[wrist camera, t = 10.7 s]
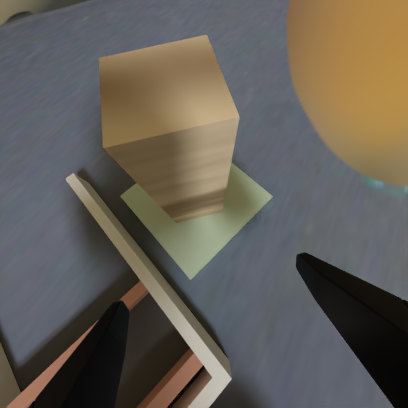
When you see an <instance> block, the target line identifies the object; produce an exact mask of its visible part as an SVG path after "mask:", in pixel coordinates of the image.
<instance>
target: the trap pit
mask: <svg viewBox="0 0 408 408" xmlns="http://www.w3.org/2000/svg"><path fill="white" fill-rule="evenodd" d="M120 300H122V301H123V302H124V303H125V305H126V306H127V308H128V309H129V313H130V316H129V326H128V336H127V345H126V353H125V358H124V363H123V369H122V374H121V379H120V384H119V389H118V395H117V400H116V405H115V408H167V407H168V405H169V404H170V403H171V402H172V401H173V400H174V398H175V397H176V396H177V395H178V394H179V393H180V391H181V390H182V389H183V388H184V387H185V386H186V384H187V383H188V382H189V381H190V380H191V379H192V377H193V376H194V375H195V374H196V373H197V372H198V370H199V369H200V368H201V367H202V366H203V364H202V363H201V361H200V360H199V359H198V357H197V356H196V355H195V353H194V352H193V351H192V349H191V348H190V347H189V345H188V344H187V343H186V341H185V340H184V338H183V337H182V336H181V334H180V333H179V332H178V330H177V329H176V328H175V326H174V325H173V324H172V322H171V321H170V320H169V318H168V317H167V316H166V314H165V313H164V311H163V310H162V309H161V307H160V306H159V305H158V303H157V302H156V301H155V299H154V298H153V297H152V295H151V294H150V293H149V291H148V290H147V289H146V287H145V286H144V284H143V283H142V282H141V280H140V281H139V282H138V283H137V284H136V285H135V286H134V287H133V288H132V289H131V290H130V291H128V292H127V293H126V294H125V295H124V296H123V297H122V298H121V299H120ZM120 300H119V301H120ZM97 322H98V321H97ZM97 322H96V323H97ZM96 323H95V324H96ZM95 324H94V325H95ZM94 325H93V326H91V327H90V328H89V329H88V330H87V331H86V332H85V333H84V334H83V335H82V336H81V337H80V338H79V339H78V340H77V341H76V342H75V343H73V344H72V345H71V346H70V347H69V348H68V349H67V350H66V351H65V352H64V353H63V354H62V355H61V356H60V357H59V358H58V359H57V360H55V361H54V362H53V363H52V364H51V365H50V366H49V367H48V368H47V369H46V370H45V371H44V372H43V373H42V374H41V375H40V376H39V377H38V378H36V379H35V380H34V381H33V382H32V383H31V384H30V385H29V386H28V387H27V388H26V389H25V390H24V391H23V392H22V393H21V394H20V395H18V396H17V397H16V398H15V399H14V400H13V401H12V402H11V403H10V404H9V405H8V406H7V407H6V408H28V407H29V406H30V405H31V403H32V402H33V401H35V399H36V397H37V396H38V395H39V394H40V392H41V391H42V390H43V389H44V387H45V386H46V385H47V384H48V382H49V381H50V380H51V379H52V377H53V376H54V375H55V374H56V372H57V371H58V370H59V369H60V367H61V366H62V365H63V364H64V363H65V361H66V360H67V359H68V358H69V356H70V355H71V354H72V353H73V351H74V350H75V349H76V348H77V346H78V345H79V344H80V343H81V341H82V340H83V339H84V338H85V337H86V335H87V334H88V333H89V332H90V330H91V329H92V328H93V327H94Z"/></svg>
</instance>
